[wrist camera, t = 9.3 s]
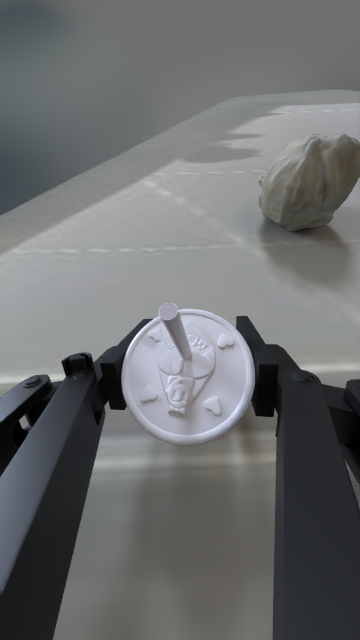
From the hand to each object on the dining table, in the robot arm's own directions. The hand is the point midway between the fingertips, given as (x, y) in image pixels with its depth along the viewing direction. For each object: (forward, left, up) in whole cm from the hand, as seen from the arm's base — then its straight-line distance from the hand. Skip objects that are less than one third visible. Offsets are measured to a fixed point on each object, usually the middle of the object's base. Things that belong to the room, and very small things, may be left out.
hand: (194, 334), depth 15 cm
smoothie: (+3, -2, -5) cm, 6 cm away
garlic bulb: (-8, +20, -5) cm, 22 cm away
